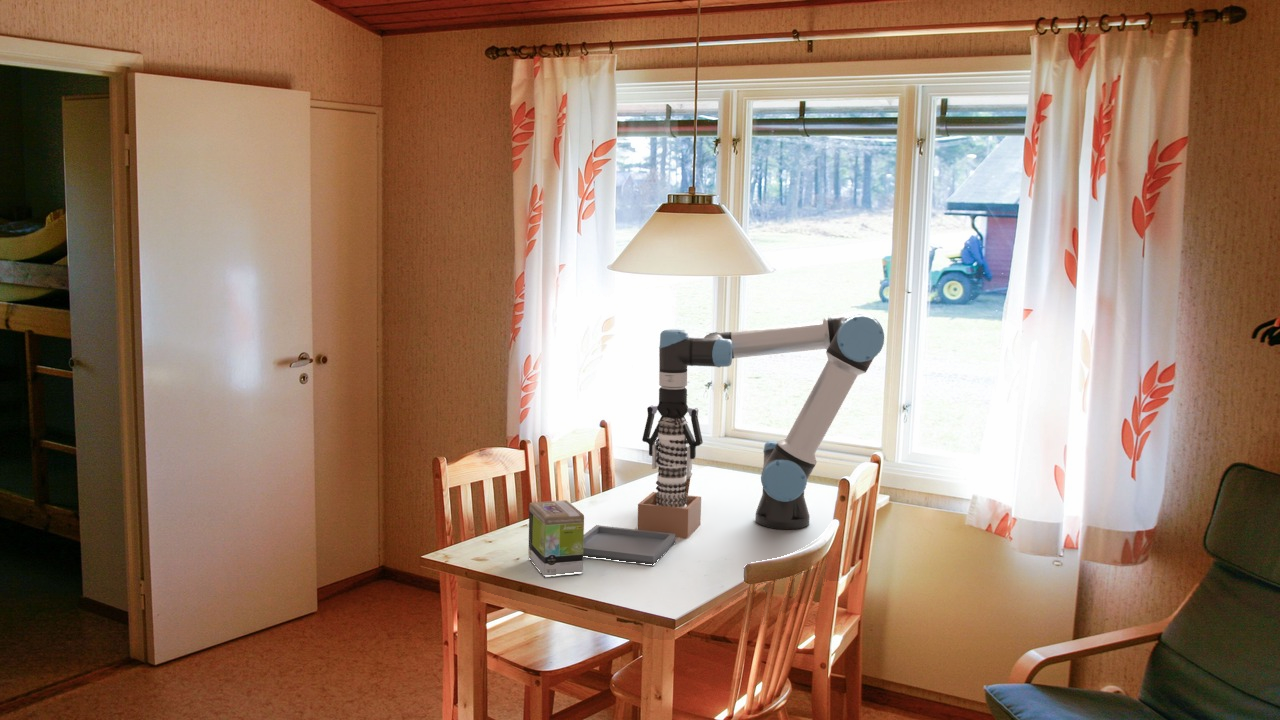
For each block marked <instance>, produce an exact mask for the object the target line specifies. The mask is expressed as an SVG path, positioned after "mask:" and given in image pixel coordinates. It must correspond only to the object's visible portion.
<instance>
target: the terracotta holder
mask: <svg viewBox="0 0 1280 720" xmlns="http://www.w3.org/2000/svg"><path fill="white" fill-rule="evenodd" d="M657 492H658V491H656V492H655V491H652V492H651V493H650V494H649V495H647V496H646V497H645V498H643V499H642V500H641V501H640V502H639V503H638V504H637V527H636V528H637V529H636V530H645V531H654V532H663V533H672V534H675V538H677V539H678V538H679V539H686V538H688V539H689V538H690V537H691V536H692V535H693V534H694V532H695V531H696V530H697V529H698V528H699V527H700V526H701V520H702V519H701V517H702V513H701V512H702V496H698V495H689V494H688V495H687V498H686V499H687V503H686V505H687V507H686V508H681V507H671V506H661V505H656V504H657V502H656V499H657V497H656V493H657Z"/></svg>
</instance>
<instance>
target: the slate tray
mask: <svg viewBox="0 0 1280 720" xmlns="http://www.w3.org/2000/svg"><path fill="white" fill-rule="evenodd" d="M674 543H675V544H676V537H675V534H672V533H663V532H654V531H645V530H637V529H633V528H626V527H618V526H609V525H599V524H596V525H595V526H593V527H592V528H591V529H589V530H588V531H587V532H584V541H583V556H588V557H596V558H606V559H611V560H619V561H626V562H636V563H645V564H652V565H653V564H654V563H656V562H657V560H658V559H660V558H661V556H662V557H664V555H665V554H666V553H668V552H669V550H671V548H672V547H674V545H675V544H674ZM665 552H666V553H665ZM664 553H665V554H664ZM663 554H664V555H663ZM660 560H661V559H660ZM657 563H658V562H657Z"/></svg>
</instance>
